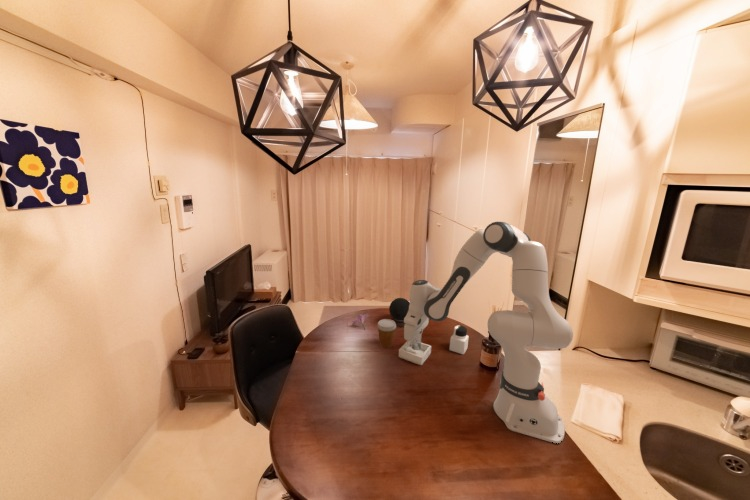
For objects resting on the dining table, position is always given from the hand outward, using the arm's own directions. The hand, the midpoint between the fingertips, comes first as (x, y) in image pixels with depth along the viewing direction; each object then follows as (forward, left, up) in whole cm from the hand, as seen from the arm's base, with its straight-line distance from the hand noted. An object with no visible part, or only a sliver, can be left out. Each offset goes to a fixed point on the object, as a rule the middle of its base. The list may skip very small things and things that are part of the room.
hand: (416, 340), depth 136 cm
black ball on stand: (+21, -25, -8) cm, 33 cm away
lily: (+37, -7, -8) cm, 39 cm away
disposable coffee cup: (+16, 0, -8) cm, 18 cm away
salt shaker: (0, 0, -4) cm, 4 cm away
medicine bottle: (-16, -17, -8) cm, 24 cm away
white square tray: (0, 0, -7) cm, 7 cm away
